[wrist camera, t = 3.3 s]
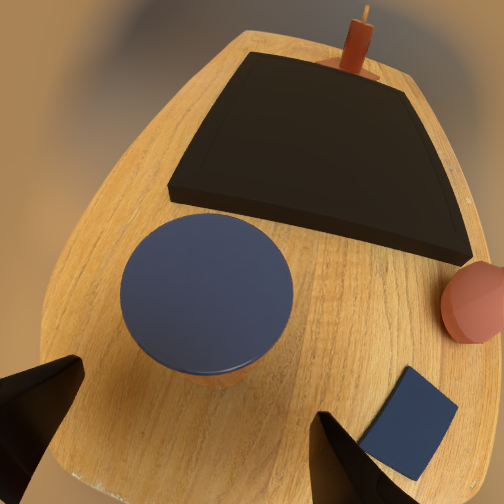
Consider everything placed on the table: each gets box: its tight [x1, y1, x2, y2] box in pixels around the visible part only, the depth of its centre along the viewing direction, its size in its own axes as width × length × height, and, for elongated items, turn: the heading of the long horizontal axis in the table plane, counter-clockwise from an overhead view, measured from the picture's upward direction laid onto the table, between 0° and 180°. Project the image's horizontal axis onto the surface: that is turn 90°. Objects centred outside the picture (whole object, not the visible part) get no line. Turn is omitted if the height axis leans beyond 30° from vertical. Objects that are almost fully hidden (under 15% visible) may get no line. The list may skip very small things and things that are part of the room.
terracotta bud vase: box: [441, 261, 504, 344], centre depth 17 cm, size 8×8×12 cm
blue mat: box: [357, 366, 458, 481], centre depth 16 cm, size 8×8×1 cm
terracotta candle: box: [339, 5, 375, 74], centre depth 42 cm, size 5×5×18 cm
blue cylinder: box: [120, 213, 294, 389], centre depth 13 cm, size 5×5×13 cm
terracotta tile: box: [315, 57, 380, 81], centre depth 50 cm, size 12×12×1 cm
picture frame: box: [167, 52, 473, 267], centre depth 35 cm, size 40×2×33 cm
